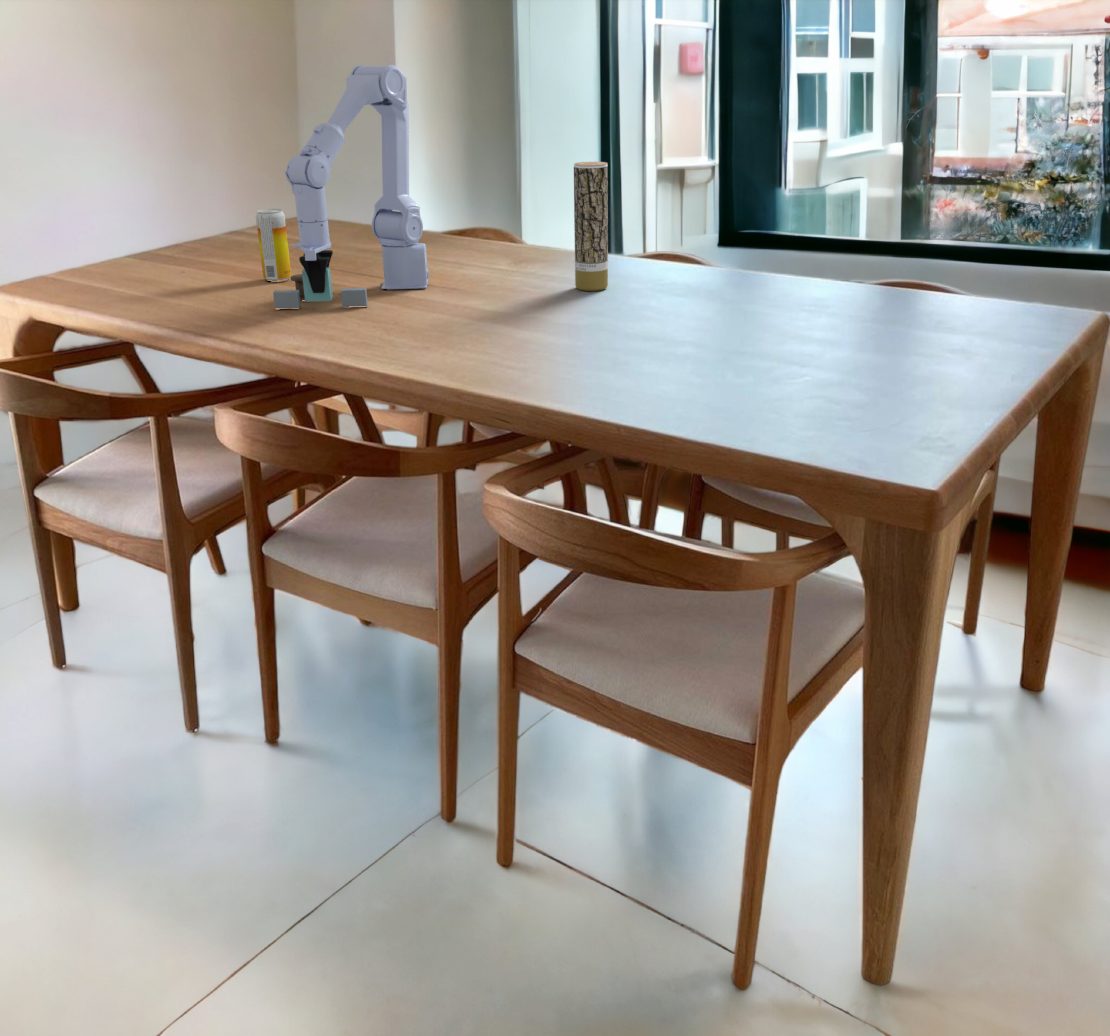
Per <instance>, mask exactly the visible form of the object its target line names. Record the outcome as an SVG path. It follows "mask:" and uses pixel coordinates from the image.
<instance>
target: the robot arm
mask: <svg viewBox="0 0 1110 1036" xmlns="http://www.w3.org/2000/svg"><path fill="white" fill-rule="evenodd" d="M407 80H408V79H407V77H406V75H405V74H404V73H403V72H402V71H401V69H400V68H399V67H398V66H396V65H395V64H389V65H365V64H357V65H356V66H354V67H353V68H352V70H351V72H350V74H349V75H348V76H347V77H346V79H345V81H346V82H345V83H346V88H345V90H344V92H343V94H342V95H341V98H340V99H339V101H338V103H337V105H336V106H335V108H334V111H333V113H332V114H331V116H330V117H329V119H328V121H327V122H321V123H320V124H318V125H315V127H314V128H313V129H312V131H313V133H312V134H311V136H310V137H309V139H308V141H307V142H306V144H305V145H304V146H303V147H302V148H301V151H300V153H299V154H296V155H294V156H293V157H292V158H291V159H290V160H289V161H288V163H287V165H286V171H285V172H284V173H285V178H286V180H287V181H288V183H289V184H290V186H291V190H292V191H291V193H293V195H294V201H295V209H296V217H297V218H296V219H297V228H298V238H299V242H297V243H294V244H293V248H294V249H299V250H300V251H302V252H303V254H302V256H301V255H300V256H299V258H298V259H299V263H300V264H301V266H302V267H303V269H305V271H306V273H307V276H308V279H309V282H310V285H311V288H312V291H313V293H324V290H325V274H326V267H330V263H331V259H332V256H333V254H334V252H333V250H329V249H330V248H332V242H331V240H330V230H329V229H330V228H329V221H328V209H327V200H326V189H325V185H326V184H327V183H328V182H329V181H330V178H331V168H332V165H333V162H334V160H335V159H336V157H337V156H338V154H339V152H340V151H341V149H342V148H343V146H344V144H345V143H346V142H345V141H346V140H345V136H344V133H345V132H347V131H346V130H347V129H348V128H349V126H350V125H352V123H353V121H354V120H355V119H356V118H357V116H358V115H359V113H360V112H361V111H362V109H363V108H364V107H365V106H367V105H370V106H371V107H373V108H374V109H375V111H376V112H377V113H378V114H379V115H380V116H381V158H382V159H381V160H382V161H381V163H382V164H381V165H382V166H381V168H382V169H381V170H382V171H381V172H382V178H381V179H382V196H381V197H380V198H379V199H378V200H377V201H376V202H375V204H374V212H373V217H372V220H371V230H372V233H373V235H374V237H375V238H376V239H378V244H380V245H381V256H382V257H381V258H382V268H383V269H382V270H383V283H382V285H381V290H382V289H387V290H408V289H409V290H415V289H427V287H428V284H429V280H430V279H429V278H430V272H429V270H428V258H427V257H428V256H427V246H426V243H419V241H420V239H421V238H422V235H423V231H424V225H423V224H424V223H423V219H422V217H421V212H420V211H421V210H420V209H421V207H420V206H419V205H418V204H417V203H416V201H415V200H413V199H412V197H410V143H409V142H410V141H409V140H410V139H409V138H410V135H409V133H410V131H409V129H410V123H409V118H410V117H409V116H410V114H409V113H410V112H409V102H408V99H407V95H408V94H407V88H408V87H407V84H408V83H407Z"/></svg>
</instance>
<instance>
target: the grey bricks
mask: <svg viewBox="0 0 1110 1036" xmlns="http://www.w3.org/2000/svg"><path fill="white" fill-rule="evenodd" d="M272 293H273V303H274V309H275V308H300V306H301V307H302V305H301V304H302V302H300V294H299V290H296V289H285V290H284V289H283V290H282V289H281V290H279V289H278V290H274V291H273V292H272ZM367 293H368V291H367V287H349V288H347V287H344V288H341V290H340V295H341V303H342V305H341V306H342V308H343V307H349V306H367V304H368V294H367ZM368 305H369V304H368ZM367 307H368V306H367ZM300 309H301V308H300Z"/></svg>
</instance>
